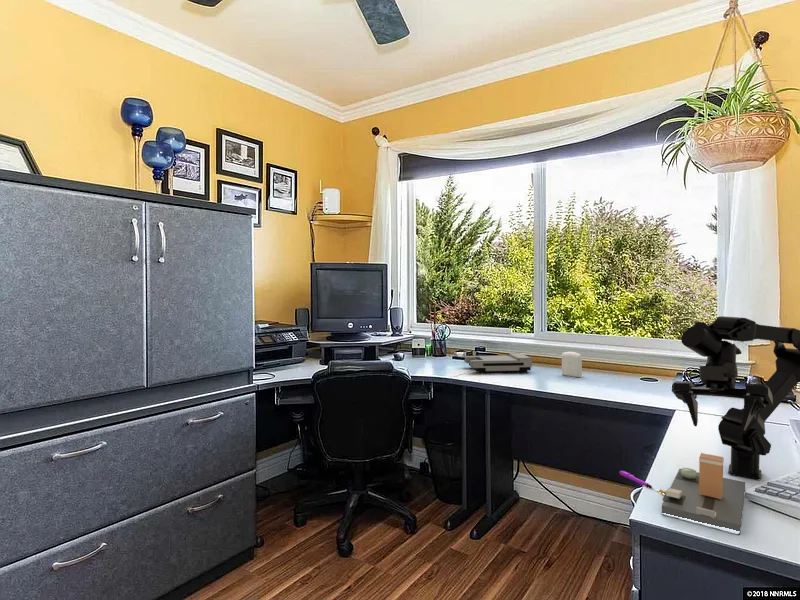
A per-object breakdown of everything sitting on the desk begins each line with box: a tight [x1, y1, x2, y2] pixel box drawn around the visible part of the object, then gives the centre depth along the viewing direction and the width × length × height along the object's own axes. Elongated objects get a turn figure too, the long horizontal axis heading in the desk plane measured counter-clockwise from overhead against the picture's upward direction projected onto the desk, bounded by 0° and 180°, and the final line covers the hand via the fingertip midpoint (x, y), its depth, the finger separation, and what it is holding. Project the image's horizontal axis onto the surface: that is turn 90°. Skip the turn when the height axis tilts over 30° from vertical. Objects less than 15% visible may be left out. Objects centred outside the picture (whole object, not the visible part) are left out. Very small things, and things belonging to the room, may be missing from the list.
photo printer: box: [561, 351, 583, 378], centre depth 241 cm, size 10×4×12 cm, turn 39°
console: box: [661, 468, 746, 532], centre depth 102 cm, size 24×13×3 cm, turn 142°
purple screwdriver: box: [619, 470, 666, 494], centre depth 110 cm, size 3×1×16 cm
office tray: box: [463, 352, 533, 374], centre depth 258 cm, size 21×32×8 cm, turn 94°
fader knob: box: [698, 452, 725, 499], centre depth 100 cm, size 3×4×8 cm
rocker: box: [665, 487, 682, 498], centre depth 99 cm, size 4×2×1 cm, turn 142°
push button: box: [680, 467, 697, 479], centre depth 109 cm, size 3×3×1 cm
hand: (718, 427), depth 106 cm, fingers open, 9 cm apart
